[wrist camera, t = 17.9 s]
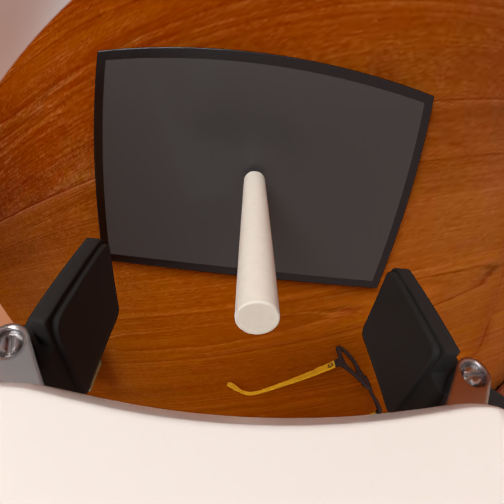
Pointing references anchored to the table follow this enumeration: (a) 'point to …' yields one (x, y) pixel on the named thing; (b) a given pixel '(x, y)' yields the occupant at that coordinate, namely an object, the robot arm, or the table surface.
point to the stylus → (256, 262)
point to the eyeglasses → (319, 370)
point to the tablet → (252, 160)
